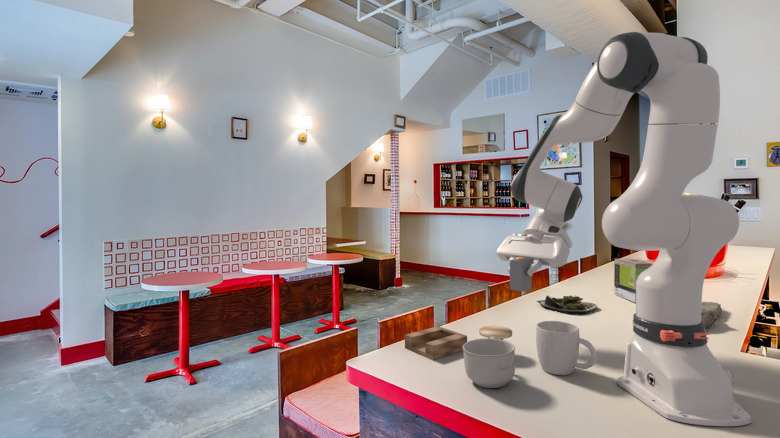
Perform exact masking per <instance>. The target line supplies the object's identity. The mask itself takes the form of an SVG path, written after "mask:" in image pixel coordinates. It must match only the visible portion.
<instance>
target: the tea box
mask: <svg viewBox="0 0 780 438" xmlns="http://www.w3.org/2000/svg"><path fill="white" fill-rule="evenodd" d="M654 262H655V261H650V260H646V259H641V258H614V265H613V266H614V273H613V275H614V279H613V281H614V282H613V283H614V287H613V289H614V290H613V292H614V293H613V294H614V295H615V296H617V295H618V296H617V297H620V298H622V299H626V300H627V301H630V302H632V303H635V304H636V281H637V278H638V276H639V275H640V274H641V273H642V272H643V271H645V270H646V269H648V268H649V267H651V266H652V265H653V264H654Z"/></svg>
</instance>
